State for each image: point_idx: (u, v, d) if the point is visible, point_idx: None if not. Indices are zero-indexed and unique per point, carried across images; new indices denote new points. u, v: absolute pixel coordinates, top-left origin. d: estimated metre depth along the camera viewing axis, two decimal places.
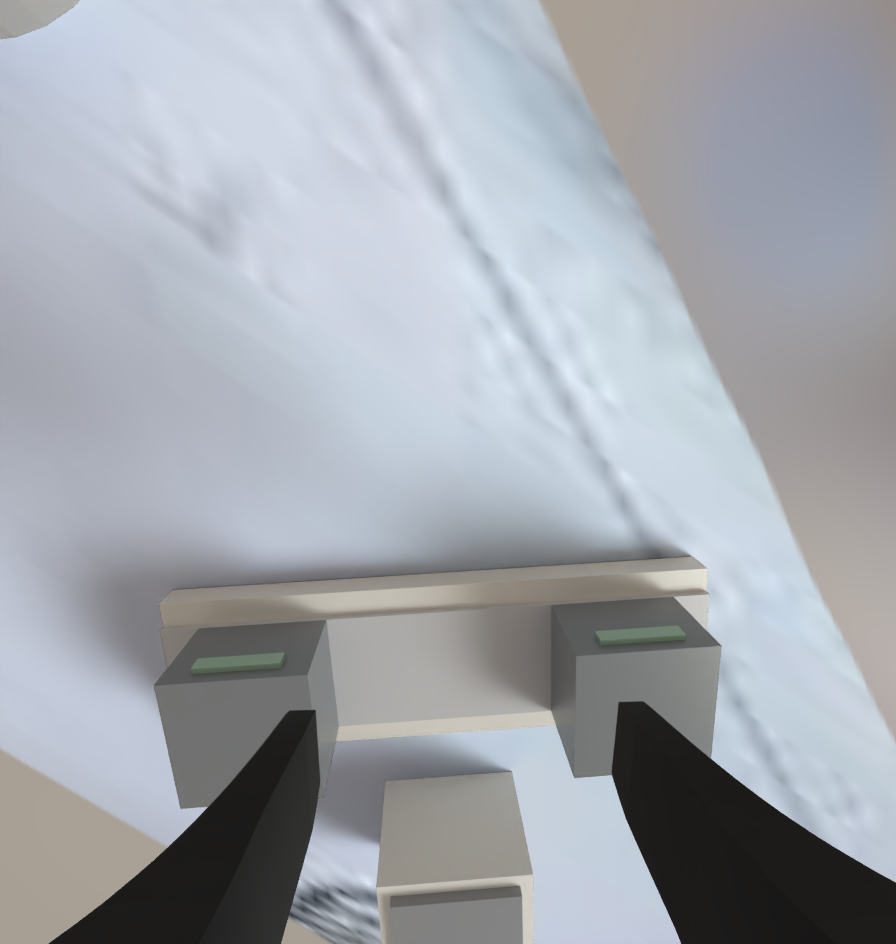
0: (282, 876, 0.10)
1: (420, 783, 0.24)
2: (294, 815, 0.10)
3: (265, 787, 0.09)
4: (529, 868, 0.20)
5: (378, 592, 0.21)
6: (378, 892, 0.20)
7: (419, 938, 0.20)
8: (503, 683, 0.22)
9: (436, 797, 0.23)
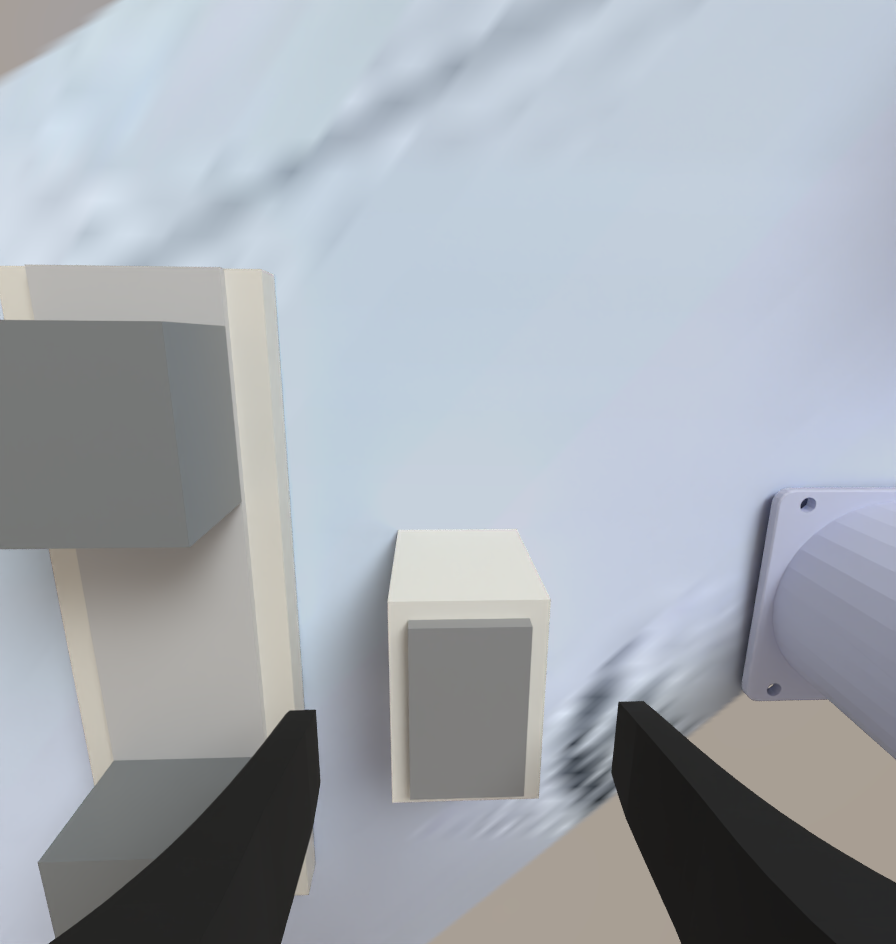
0: (282, 876, 0.10)
1: None
2: (294, 815, 0.10)
3: (265, 787, 0.09)
4: (388, 600, 0.13)
5: (82, 700, 0.17)
6: (401, 800, 0.14)
7: (474, 765, 0.13)
8: (197, 565, 0.16)
9: None
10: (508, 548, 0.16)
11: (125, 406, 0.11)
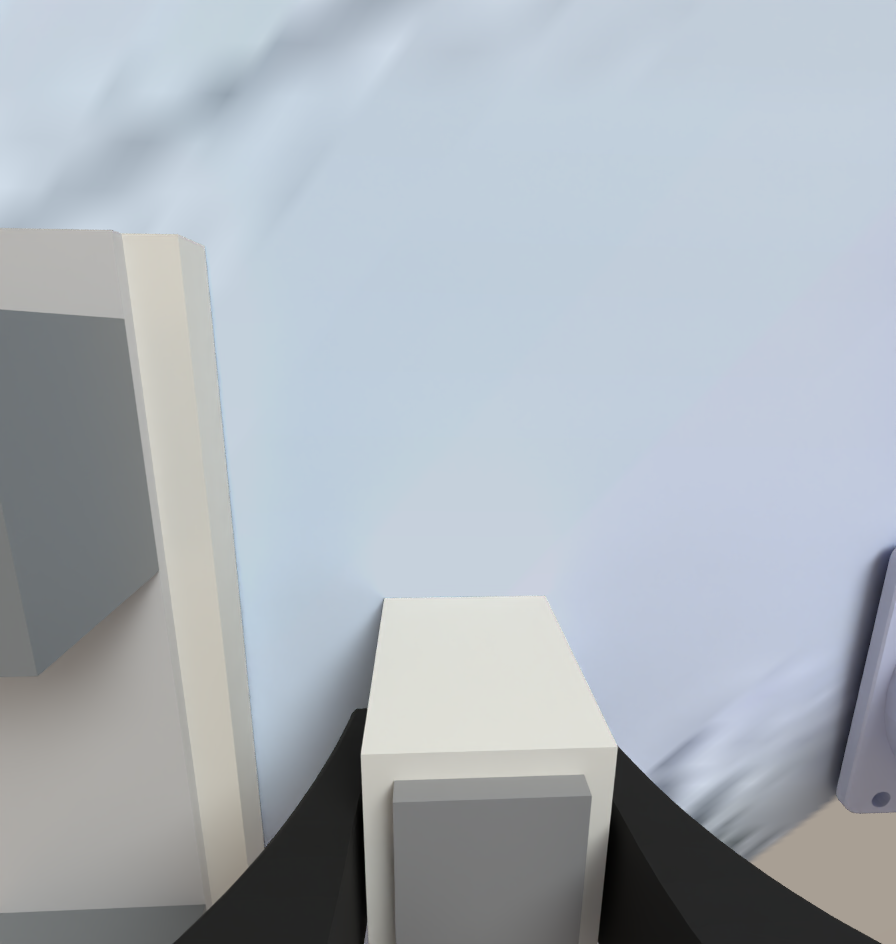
0: (365, 873, 0.10)
1: None
2: None
3: (352, 784, 0.09)
4: (362, 747, 0.08)
5: None
6: None
7: None
8: (99, 657, 0.11)
9: None
10: (539, 633, 0.11)
11: None
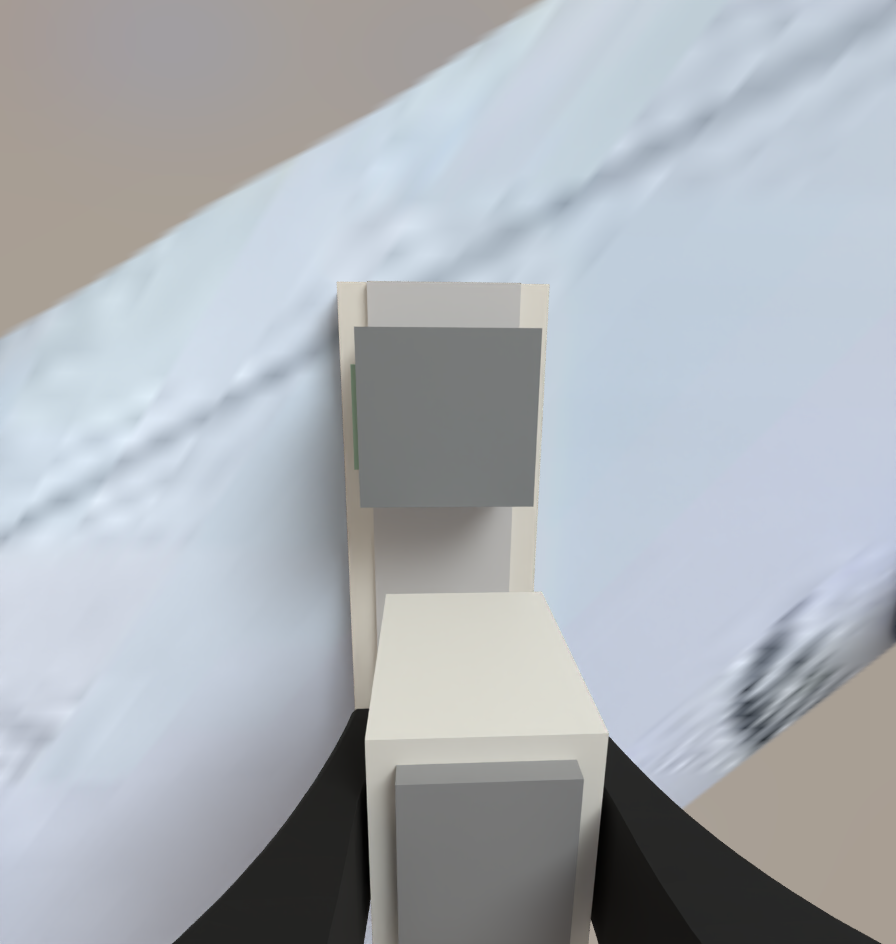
0: (365, 872, 0.10)
1: None
2: None
3: (352, 784, 0.09)
4: (366, 733, 0.09)
5: (355, 645, 0.20)
6: None
7: None
8: (470, 529, 0.19)
9: None
10: (535, 627, 0.12)
11: (504, 394, 0.14)
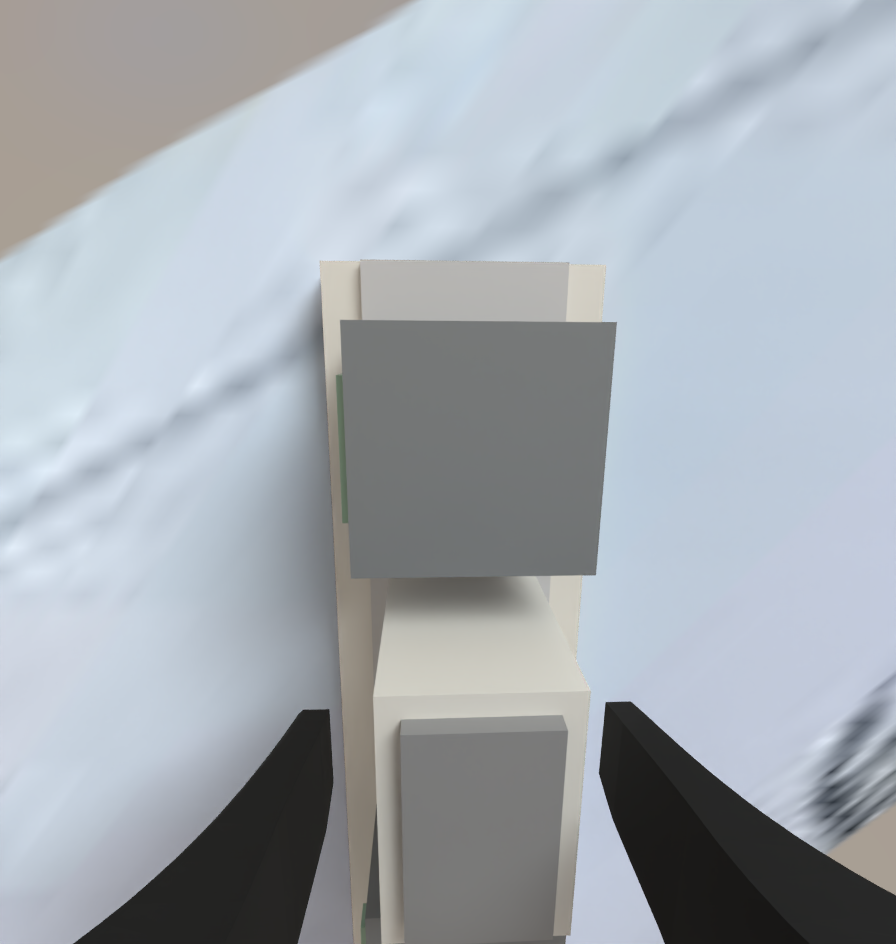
0: (299, 875, 0.10)
1: None
2: (310, 814, 0.10)
3: (282, 786, 0.09)
4: (374, 692, 0.10)
5: (347, 731, 0.16)
6: (393, 941, 0.11)
7: (488, 904, 0.10)
8: None
9: None
10: (527, 604, 0.13)
11: (558, 418, 0.10)
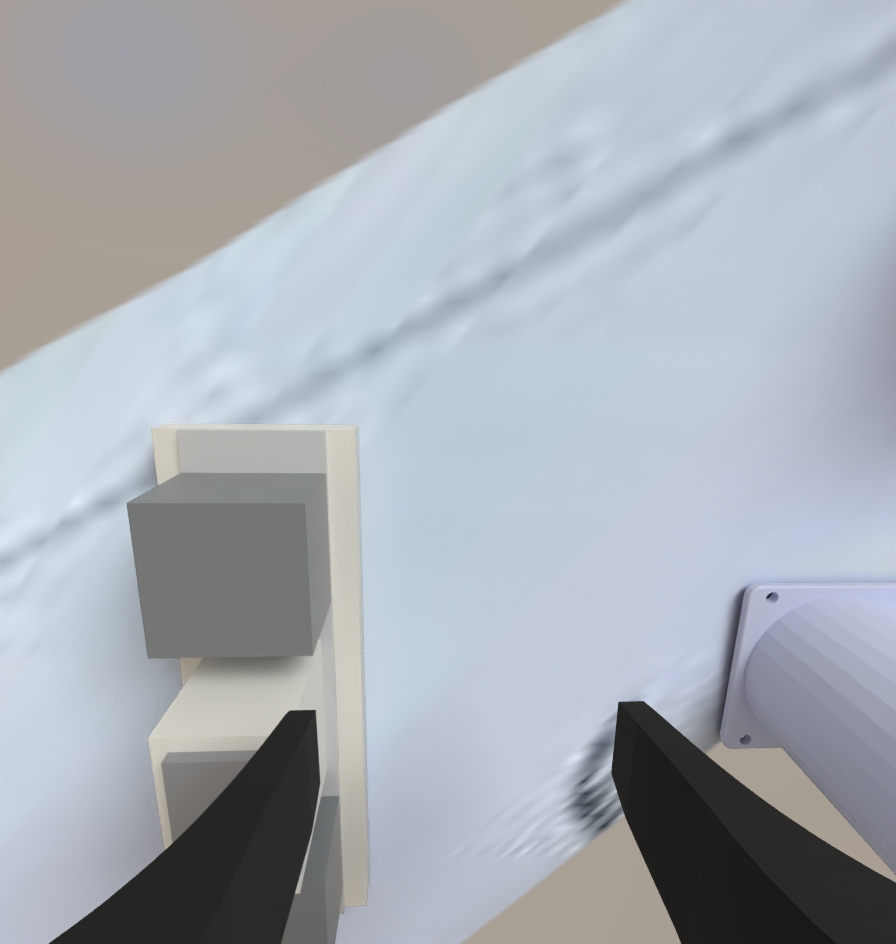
0: (282, 876, 0.10)
1: None
2: (294, 815, 0.10)
3: (265, 787, 0.09)
4: (152, 734, 0.15)
5: None
6: None
7: None
8: None
9: None
10: (296, 666, 0.18)
11: (274, 560, 0.15)
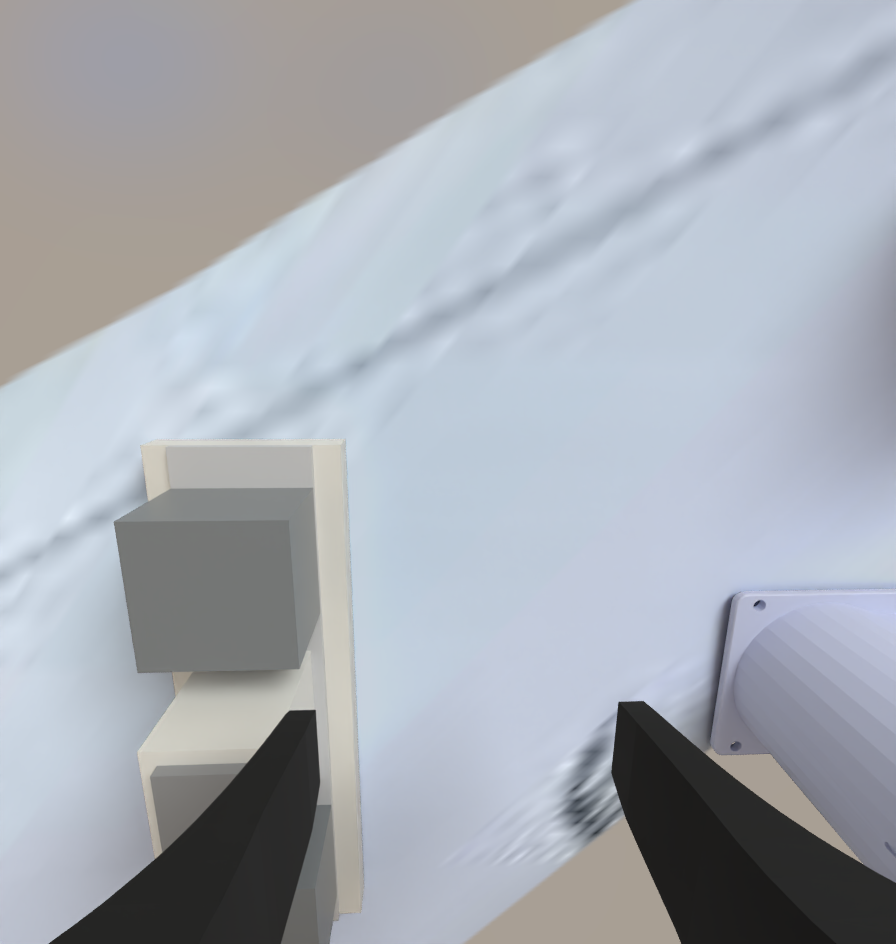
0: (282, 876, 0.10)
1: None
2: (294, 815, 0.10)
3: (265, 787, 0.09)
4: (141, 748, 0.15)
5: None
6: None
7: None
8: None
9: None
10: (285, 678, 0.19)
11: (260, 575, 0.16)
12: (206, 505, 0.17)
